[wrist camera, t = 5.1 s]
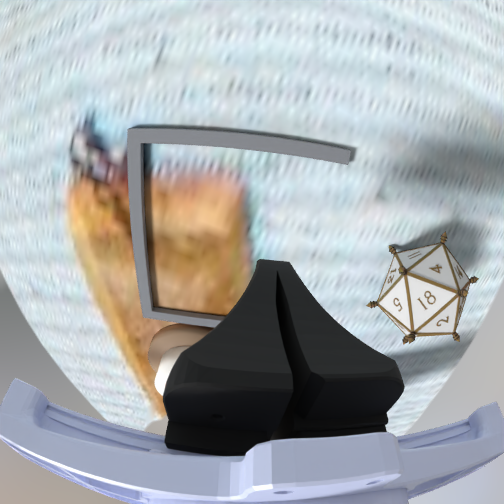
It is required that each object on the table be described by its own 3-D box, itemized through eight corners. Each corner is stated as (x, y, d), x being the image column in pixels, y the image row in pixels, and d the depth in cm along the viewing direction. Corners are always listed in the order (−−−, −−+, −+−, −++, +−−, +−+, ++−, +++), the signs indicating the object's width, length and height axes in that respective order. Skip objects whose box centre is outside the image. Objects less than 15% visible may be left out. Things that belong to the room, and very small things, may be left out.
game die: (391, 225, 25) (461, 198, 15) (441, 284, 25) (513, 282, 15) (333, 298, 24) (394, 307, 14) (392, 356, 24) (460, 384, 14)
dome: (226, 389, 30) (222, 427, 26) (165, 380, 30) (155, 417, 25) (229, 351, 26) (225, 395, 22) (157, 341, 26) (144, 383, 22)
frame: (300, 330, 27) (301, 335, 26) (145, 313, 26) (143, 317, 26) (348, 149, 18) (351, 150, 18) (130, 127, 18) (127, 129, 17)
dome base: (239, 385, 32) (238, 395, 31) (157, 374, 32) (154, 384, 30) (247, 330, 27) (247, 341, 26) (145, 316, 27) (141, 327, 25)
